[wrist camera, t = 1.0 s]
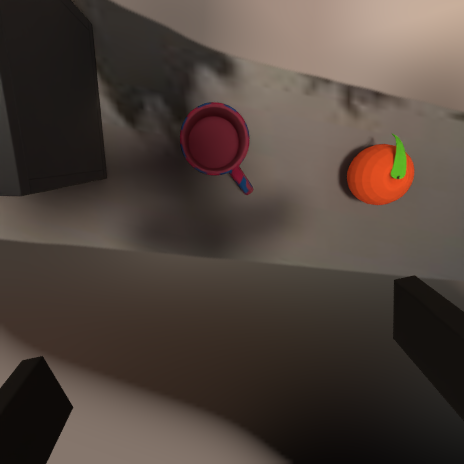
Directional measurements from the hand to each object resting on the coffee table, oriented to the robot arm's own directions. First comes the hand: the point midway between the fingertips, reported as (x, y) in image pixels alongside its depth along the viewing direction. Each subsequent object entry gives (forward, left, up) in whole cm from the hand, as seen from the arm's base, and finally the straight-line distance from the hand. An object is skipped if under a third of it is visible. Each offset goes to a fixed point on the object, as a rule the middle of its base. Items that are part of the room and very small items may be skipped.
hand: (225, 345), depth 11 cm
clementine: (+1, +20, -26) cm, 33 cm away
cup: (-6, +3, -26) cm, 27 cm away
